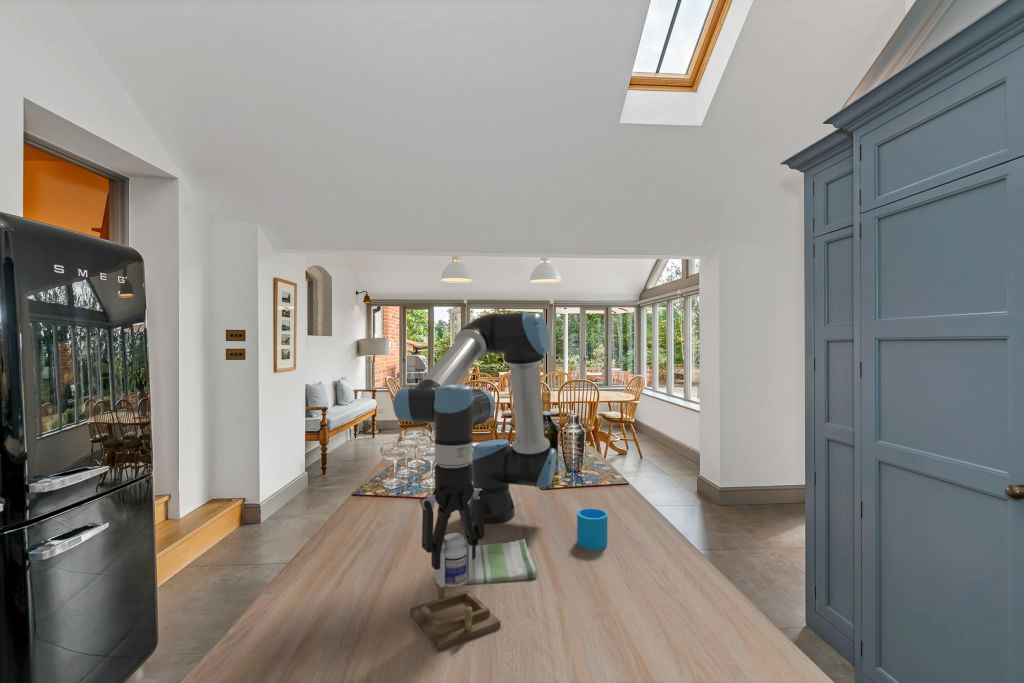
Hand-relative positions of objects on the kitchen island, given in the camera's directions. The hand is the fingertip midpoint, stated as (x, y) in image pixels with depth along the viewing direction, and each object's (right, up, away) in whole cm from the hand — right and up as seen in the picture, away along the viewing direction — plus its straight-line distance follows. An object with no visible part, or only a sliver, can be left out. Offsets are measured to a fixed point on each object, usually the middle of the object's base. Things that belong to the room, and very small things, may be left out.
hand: (454, 579), depth 97 cm
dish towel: (+5, -9, +23) cm, 25 cm away
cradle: (0, -8, 0) cm, 8 cm away
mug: (+33, -8, +38) cm, 51 cm away
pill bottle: (0, 0, 0) cm, 0 cm away
